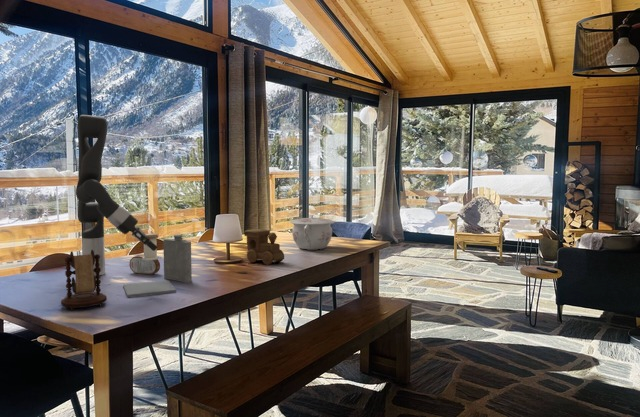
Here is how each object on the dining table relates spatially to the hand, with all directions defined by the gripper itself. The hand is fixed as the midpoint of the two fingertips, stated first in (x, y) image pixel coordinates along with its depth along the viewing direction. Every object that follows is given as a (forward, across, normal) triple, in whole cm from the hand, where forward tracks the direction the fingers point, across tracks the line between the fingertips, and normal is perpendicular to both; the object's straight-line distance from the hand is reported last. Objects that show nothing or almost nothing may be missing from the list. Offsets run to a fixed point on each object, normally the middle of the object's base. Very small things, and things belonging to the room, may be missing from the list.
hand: (154, 247), depth 200 cm
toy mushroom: (+2, 0, +4) cm, 5 cm away
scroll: (-7, -17, +30) cm, 35 cm away
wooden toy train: (+53, +34, -29) cm, 69 cm away
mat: (+10, -2, +14) cm, 17 cm away
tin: (+11, +30, +13) cm, 34 cm away
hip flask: (+19, +12, +4) cm, 23 cm away
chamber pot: (+81, +64, -58) cm, 119 cm away
